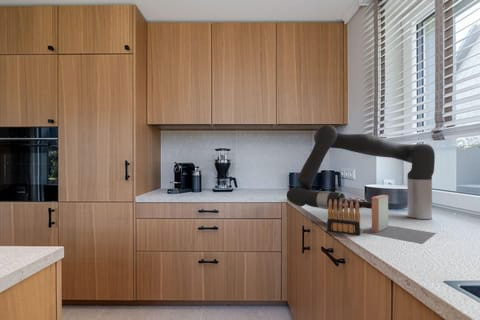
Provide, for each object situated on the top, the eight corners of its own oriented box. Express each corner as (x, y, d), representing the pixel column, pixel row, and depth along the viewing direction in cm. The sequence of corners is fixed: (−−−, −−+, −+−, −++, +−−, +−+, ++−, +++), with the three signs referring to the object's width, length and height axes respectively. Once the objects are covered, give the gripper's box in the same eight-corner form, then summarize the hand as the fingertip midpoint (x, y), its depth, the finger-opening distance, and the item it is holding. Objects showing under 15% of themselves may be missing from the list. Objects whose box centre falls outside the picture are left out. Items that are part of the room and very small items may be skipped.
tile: (382, 226, 102) (382, 194, 102) (388, 227, 101) (388, 195, 101) (371, 231, 95) (371, 197, 95) (378, 232, 94) (378, 197, 94)
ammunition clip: (326, 233, 95) (326, 199, 95) (328, 232, 97) (328, 198, 97) (359, 237, 90) (359, 201, 90) (360, 236, 92) (360, 200, 92)
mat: (380, 225, 106) (380, 224, 106) (436, 234, 93) (436, 233, 93) (361, 234, 94) (361, 232, 94) (422, 245, 81) (422, 243, 81)
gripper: (322, 193, 108) (367, 197, 95) (338, 190, 117) (381, 194, 104) (322, 211, 108) (367, 218, 95) (338, 208, 117) (381, 213, 104)
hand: (374, 205), depth 100 cm, fingers closed
